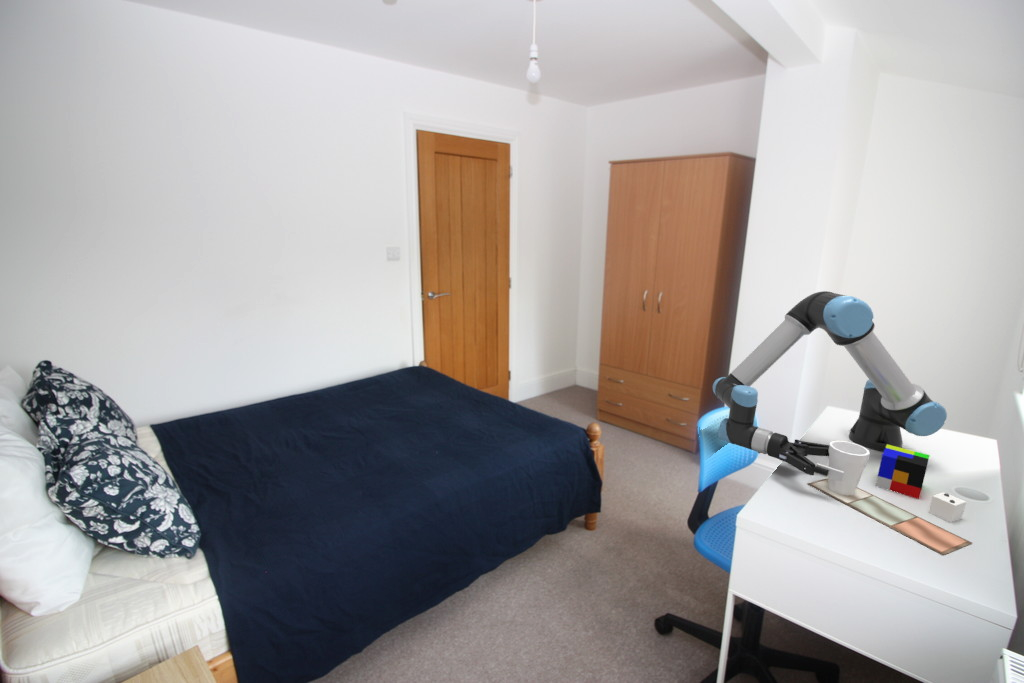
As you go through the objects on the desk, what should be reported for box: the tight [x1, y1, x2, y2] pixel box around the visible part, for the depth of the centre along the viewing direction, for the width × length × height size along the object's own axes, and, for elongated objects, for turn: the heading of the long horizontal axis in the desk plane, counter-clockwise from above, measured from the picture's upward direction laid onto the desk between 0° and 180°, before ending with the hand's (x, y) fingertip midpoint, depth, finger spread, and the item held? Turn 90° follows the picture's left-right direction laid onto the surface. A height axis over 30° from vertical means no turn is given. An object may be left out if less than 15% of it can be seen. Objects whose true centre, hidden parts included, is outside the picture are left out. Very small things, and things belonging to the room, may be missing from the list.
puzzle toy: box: [875, 444, 930, 500], centre depth 143 cm, size 10×10×10 cm
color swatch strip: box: [807, 477, 973, 556], centre depth 131 cm, size 12×34×1 cm, turn 23°
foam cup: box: [827, 440, 871, 496], centre depth 139 cm, size 10×9×13 cm
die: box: [928, 492, 967, 523], centre depth 129 cm, size 5×5×6 cm
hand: (850, 468), depth 138 cm, fingers open, 13 cm apart
